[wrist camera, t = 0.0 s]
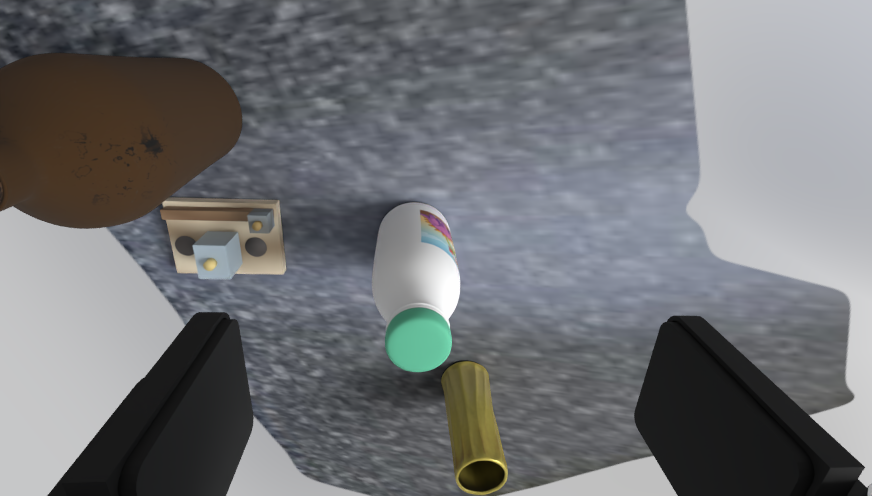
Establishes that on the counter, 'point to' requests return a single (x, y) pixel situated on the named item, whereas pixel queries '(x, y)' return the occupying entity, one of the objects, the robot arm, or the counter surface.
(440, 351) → the milk bottle
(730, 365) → the robot arm
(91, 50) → the counter surface
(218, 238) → the blue block with knob
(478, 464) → the vase
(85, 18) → the counter surface
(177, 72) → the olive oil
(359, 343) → the counter surface
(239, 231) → the board
